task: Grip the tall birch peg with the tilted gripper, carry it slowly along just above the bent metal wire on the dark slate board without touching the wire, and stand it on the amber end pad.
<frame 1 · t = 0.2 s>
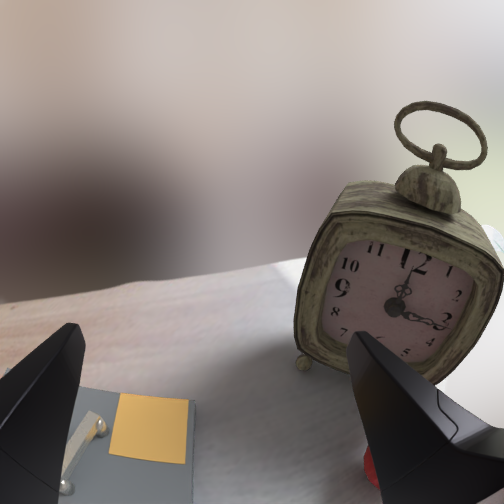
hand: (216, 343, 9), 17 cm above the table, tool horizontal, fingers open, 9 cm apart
tabletop clock: (357, 366, 28), on the table
onion: (380, 472, 18), on the table
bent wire: (64, 449, 15), on the board, point 2 cm above the table
board: (73, 458, 16), on the table
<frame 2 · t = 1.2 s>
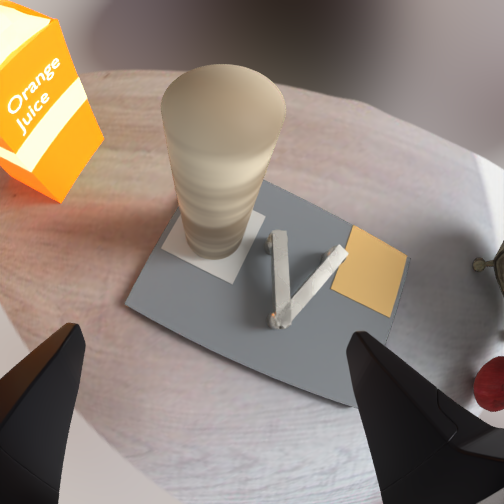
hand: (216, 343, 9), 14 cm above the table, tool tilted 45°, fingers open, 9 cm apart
orange juice: (54, 158, 24), on the table
tabletop clock: (498, 288, 27), on the table
onion: (474, 382, 24), on the table
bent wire: (293, 279, 22), on the board, point 2 cm above the table
board: (282, 283, 24), on the table
peg: (214, 231, 23), point 1 cm above the table, touching board
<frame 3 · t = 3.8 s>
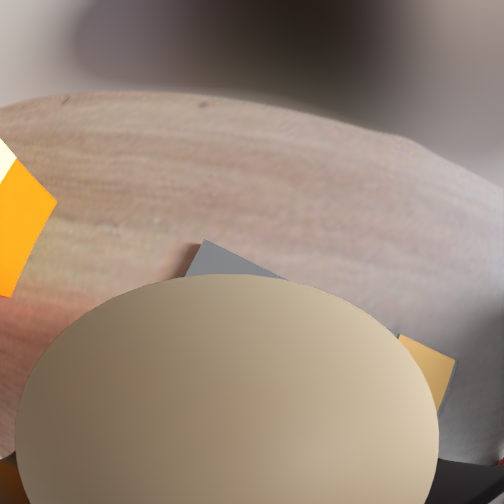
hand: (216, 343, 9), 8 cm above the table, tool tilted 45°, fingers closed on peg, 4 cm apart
onion: (496, 464, 16), on the table
board: (305, 417, 16), on the table
peg: (213, 364, 15), point 1 cm above the table, touching board, gripper
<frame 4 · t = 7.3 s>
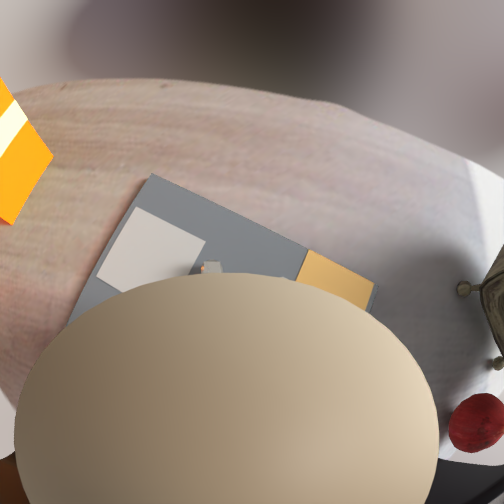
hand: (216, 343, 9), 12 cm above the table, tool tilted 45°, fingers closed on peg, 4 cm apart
orange juice: (8, 177, 22), on the table
tabletop clock: (487, 312, 25), on the table
onion: (451, 417, 22), on the table
board: (224, 315, 21), on the table
peg: (213, 363, 15), point 5 cm above the table, touching gripper
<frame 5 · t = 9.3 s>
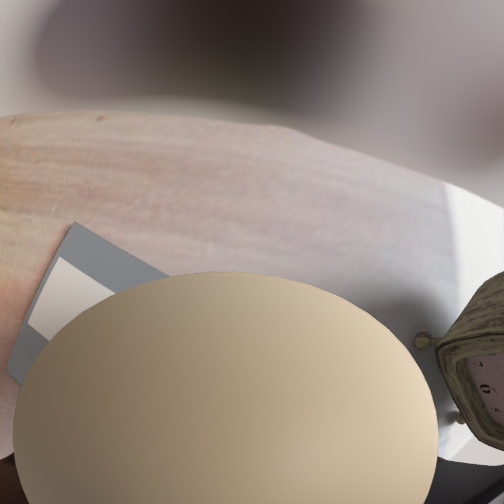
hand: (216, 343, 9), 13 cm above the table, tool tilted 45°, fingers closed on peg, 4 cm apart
tabletop clock: (454, 361, 23), on the table
board: (139, 368, 20), on the table
peg: (213, 363, 15), point 6 cm above the table, touching gripper
when the fingers open (9 cm above the table, at t = 10.8 s): peg stays where it is, resting on board.
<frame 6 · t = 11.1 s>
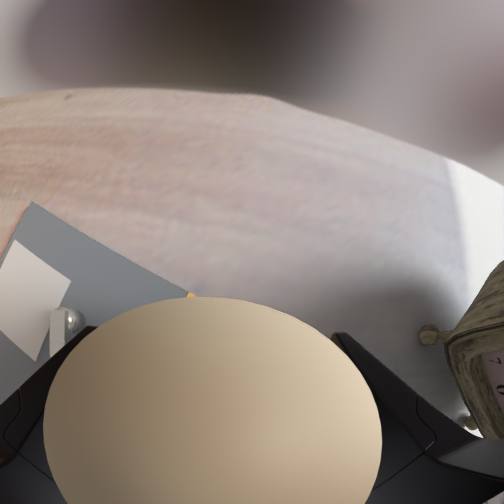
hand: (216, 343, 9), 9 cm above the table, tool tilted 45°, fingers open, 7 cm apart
tabletop clock: (463, 359, 20), on the table
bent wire: (83, 370, 14), on the board, point 2 cm above the table
board: (94, 364, 16), on the table
peg: (212, 363, 16), point 1 cm above the table, touching board
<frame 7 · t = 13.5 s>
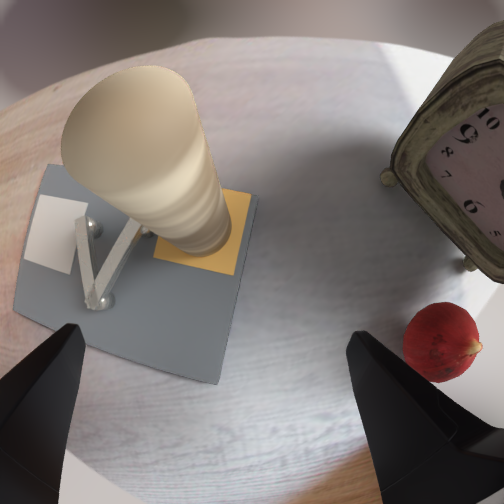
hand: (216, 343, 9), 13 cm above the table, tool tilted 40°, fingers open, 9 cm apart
tabletop clock: (440, 202, 23), on the table
onion: (415, 336, 22), on the table
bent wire: (105, 259, 20), on the board, point 2 cm above the table
board: (115, 261, 22), on the table
peg: (201, 226, 21), point 1 cm above the table, touching board
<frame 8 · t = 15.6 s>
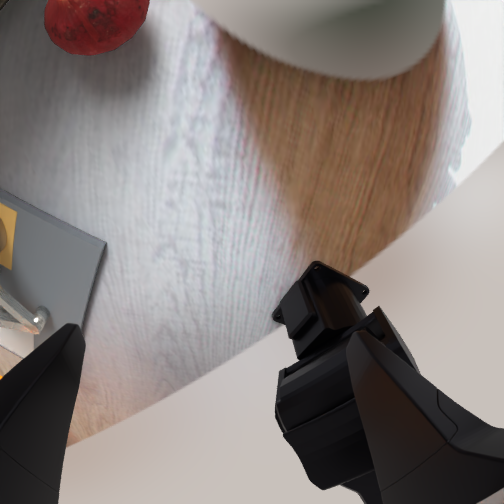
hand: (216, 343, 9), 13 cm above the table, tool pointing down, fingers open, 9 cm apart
onion: (118, 20, 13), on the table
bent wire: (13, 307, 21), on the board, point 2 cm above the table
board: (23, 294, 23), on the table
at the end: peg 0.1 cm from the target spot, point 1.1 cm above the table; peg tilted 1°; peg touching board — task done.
